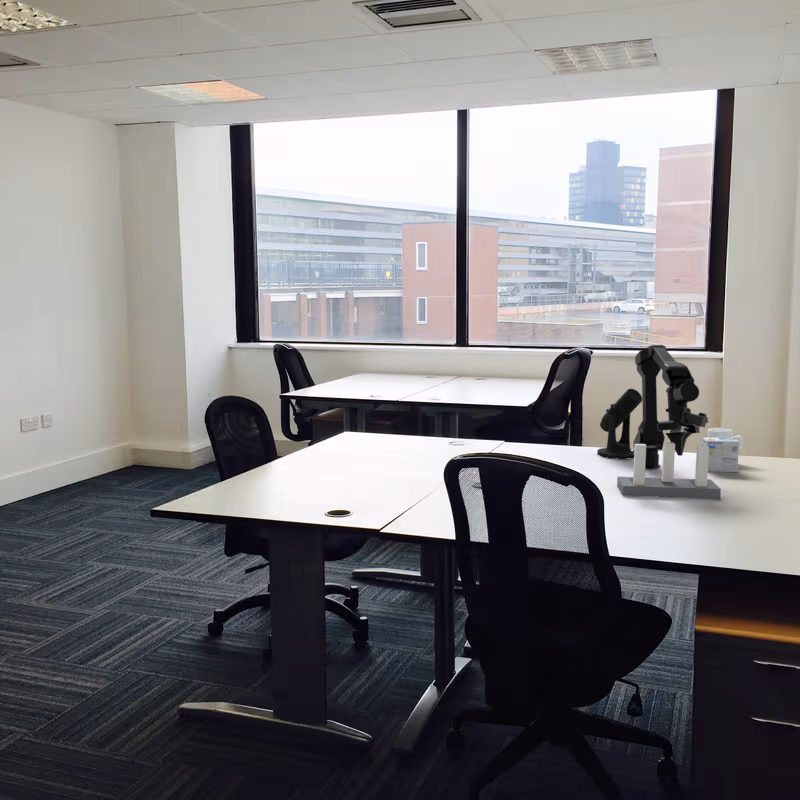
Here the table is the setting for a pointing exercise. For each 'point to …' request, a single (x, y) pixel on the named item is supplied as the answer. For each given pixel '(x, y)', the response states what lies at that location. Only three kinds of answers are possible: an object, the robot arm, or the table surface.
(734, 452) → the light bulb box
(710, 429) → the mug
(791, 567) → the table surface
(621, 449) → the microphone
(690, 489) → the three-peg stand
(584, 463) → the table surface
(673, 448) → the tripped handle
